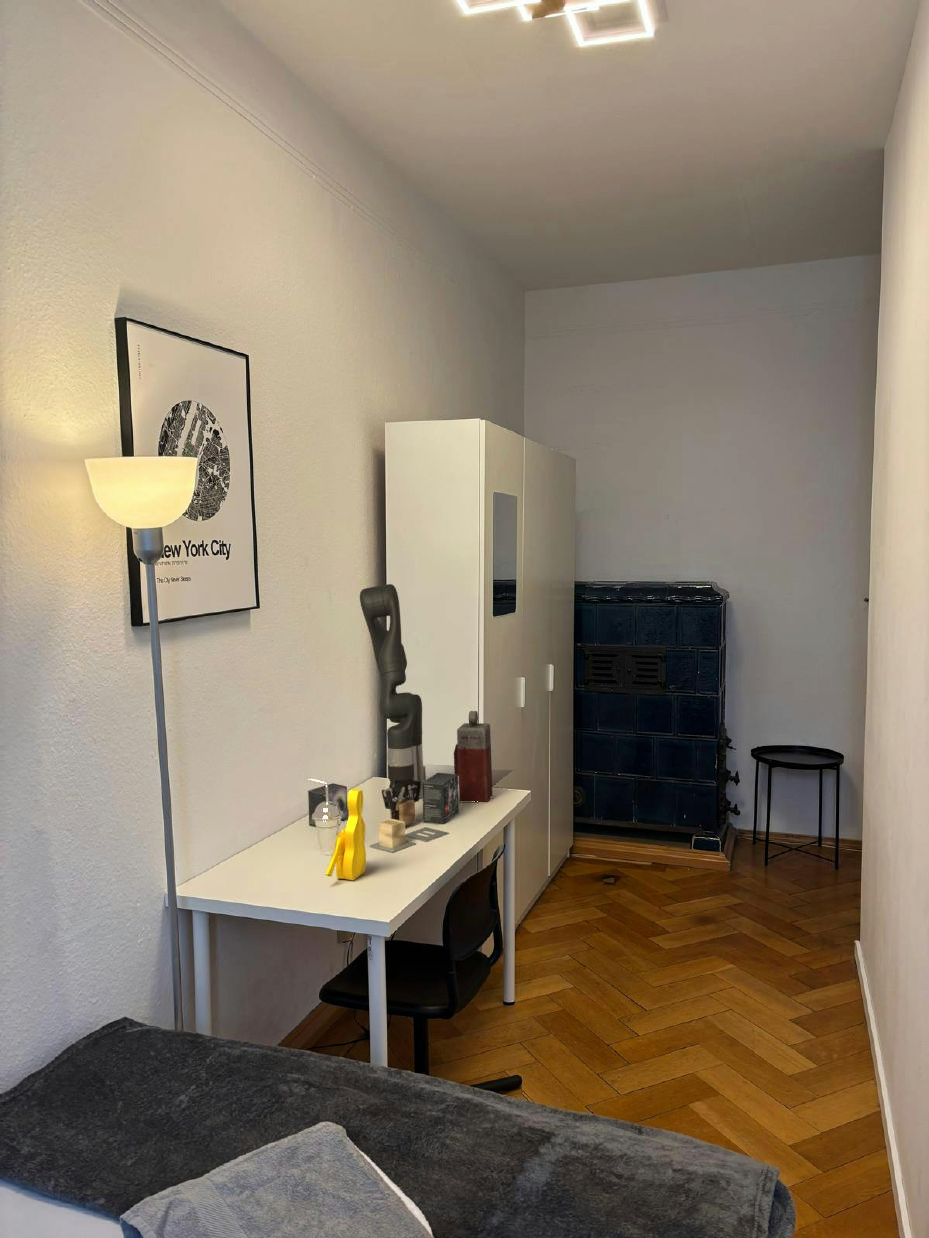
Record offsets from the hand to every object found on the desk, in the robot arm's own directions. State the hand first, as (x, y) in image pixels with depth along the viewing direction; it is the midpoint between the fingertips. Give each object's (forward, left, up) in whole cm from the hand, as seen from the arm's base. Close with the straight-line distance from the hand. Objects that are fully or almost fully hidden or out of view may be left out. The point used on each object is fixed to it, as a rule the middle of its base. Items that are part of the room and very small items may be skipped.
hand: (402, 819), depth 276 cm
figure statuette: (+37, +19, -2) cm, 42 cm away
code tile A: (+2, +11, -2) cm, 11 cm away
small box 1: (+10, -21, -2) cm, 23 cm away
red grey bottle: (-34, -3, -2) cm, 34 cm away
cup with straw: (+28, 0, -2) cm, 28 cm away
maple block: (+14, +10, -2) cm, 17 cm away
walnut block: (0, 0, -1) cm, 1 cm away
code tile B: (+14, +10, -2) cm, 17 cm away
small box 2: (-13, +3, -2) cm, 14 cm away
